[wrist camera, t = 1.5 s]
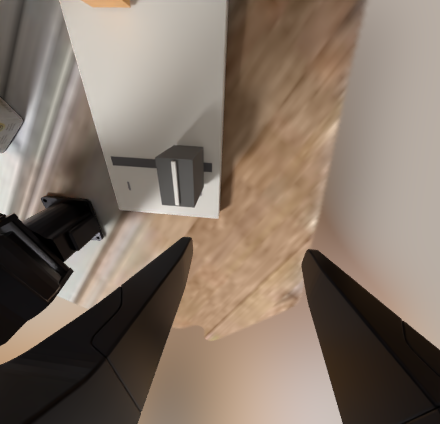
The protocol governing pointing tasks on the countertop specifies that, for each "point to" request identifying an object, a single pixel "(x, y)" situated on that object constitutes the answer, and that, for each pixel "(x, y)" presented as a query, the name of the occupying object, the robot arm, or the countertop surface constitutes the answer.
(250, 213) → the countertop surface
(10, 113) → the coffee box
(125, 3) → the orange fader
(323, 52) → the countertop surface
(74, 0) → the panel
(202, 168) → the block
